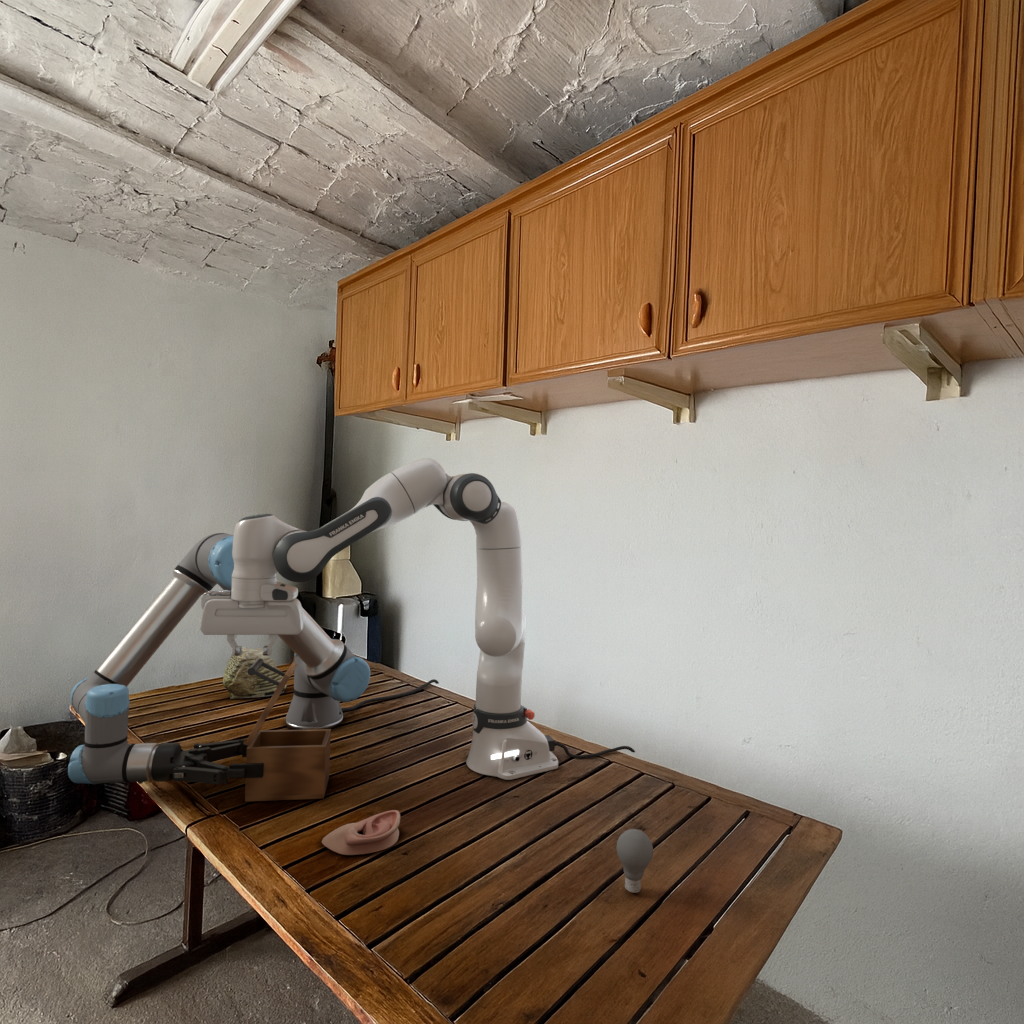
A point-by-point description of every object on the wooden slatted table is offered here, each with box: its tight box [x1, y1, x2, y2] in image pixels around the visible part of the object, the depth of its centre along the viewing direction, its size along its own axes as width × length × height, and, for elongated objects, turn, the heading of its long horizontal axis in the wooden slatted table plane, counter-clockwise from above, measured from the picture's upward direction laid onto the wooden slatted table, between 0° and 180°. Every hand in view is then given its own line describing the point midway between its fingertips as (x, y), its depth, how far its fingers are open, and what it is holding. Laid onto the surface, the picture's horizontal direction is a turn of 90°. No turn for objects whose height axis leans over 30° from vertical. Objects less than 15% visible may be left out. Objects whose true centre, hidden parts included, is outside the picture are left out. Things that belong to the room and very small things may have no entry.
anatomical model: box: [321, 809, 401, 856], centre depth 118 cm, size 13×4×12 cm
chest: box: [244, 729, 332, 803], centre depth 136 cm, size 16×10×11 cm, turn 100°
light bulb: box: [615, 828, 654, 894], centre depth 106 cm, size 6×6×10 cm
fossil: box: [222, 646, 288, 699], centre depth 198 cm, size 9×18×15 cm, turn 132°
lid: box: [244, 658, 297, 746], centre depth 135 cm, size 16×10×8 cm
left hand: (268, 759), depth 136 cm, fingers closed on chest, 10 cm apart
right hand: (252, 655), depth 135 cm, fingers open, 5 cm apart
